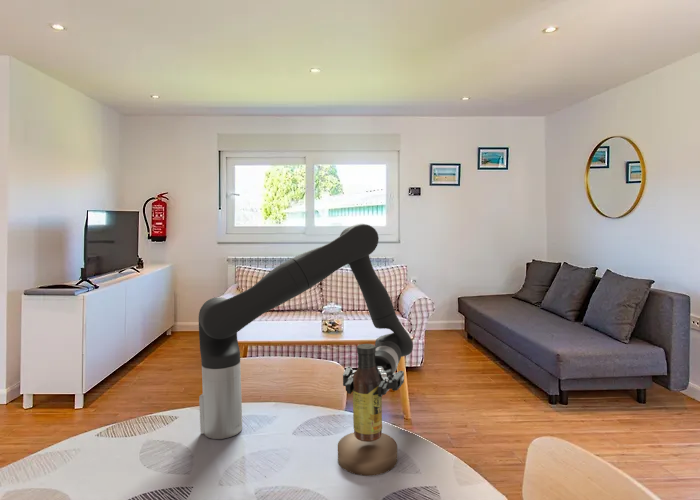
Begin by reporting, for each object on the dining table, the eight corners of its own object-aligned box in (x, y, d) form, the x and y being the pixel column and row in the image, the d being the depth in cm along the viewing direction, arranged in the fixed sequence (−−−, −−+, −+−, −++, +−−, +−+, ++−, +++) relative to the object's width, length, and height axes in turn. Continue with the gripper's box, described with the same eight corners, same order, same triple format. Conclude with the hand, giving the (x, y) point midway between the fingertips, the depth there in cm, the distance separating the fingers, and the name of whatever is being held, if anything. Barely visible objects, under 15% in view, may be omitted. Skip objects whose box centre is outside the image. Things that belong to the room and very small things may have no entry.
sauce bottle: (380, 444, 90) (378, 351, 89) (351, 442, 91) (348, 350, 90) (384, 429, 96) (382, 342, 95) (356, 427, 98) (354, 341, 96)
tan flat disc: (329, 470, 90) (329, 456, 89) (347, 440, 102) (347, 427, 102) (391, 480, 86) (390, 465, 86) (402, 447, 98) (402, 434, 98)
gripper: (353, 348, 109) (331, 370, 93) (409, 351, 104) (397, 376, 88) (353, 377, 109) (332, 404, 93) (410, 381, 105) (398, 411, 89)
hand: (364, 390), depth 91 cm, fingers closed on sauce bottle, 6 cm apart
